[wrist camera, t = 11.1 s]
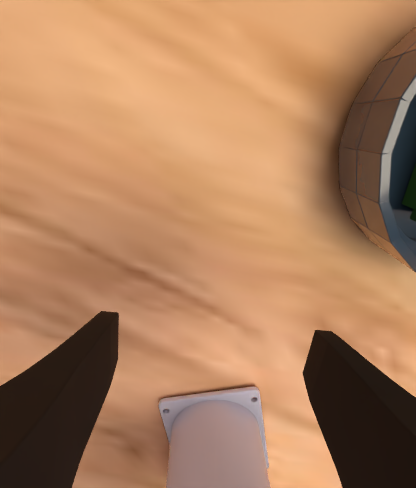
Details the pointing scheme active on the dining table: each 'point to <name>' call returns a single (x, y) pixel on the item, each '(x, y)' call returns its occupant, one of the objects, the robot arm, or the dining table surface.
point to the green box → (411, 195)
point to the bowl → (383, 153)
